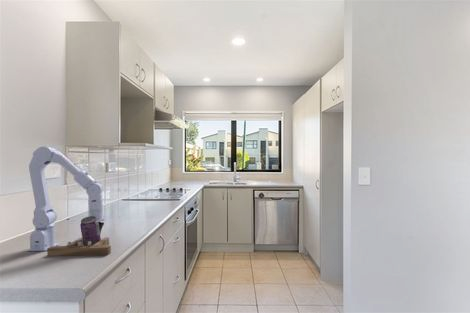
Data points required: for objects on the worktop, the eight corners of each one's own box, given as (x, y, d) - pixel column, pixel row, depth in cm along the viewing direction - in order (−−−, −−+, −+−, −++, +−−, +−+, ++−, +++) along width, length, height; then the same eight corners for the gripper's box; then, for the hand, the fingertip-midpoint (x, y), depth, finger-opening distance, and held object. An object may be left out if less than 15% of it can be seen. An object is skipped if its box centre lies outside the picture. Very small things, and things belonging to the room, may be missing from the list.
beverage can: (96, 238, 134) (93, 214, 130) (104, 243, 129) (100, 219, 126) (80, 244, 128) (76, 219, 125) (87, 250, 124) (83, 225, 121)
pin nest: (107, 255, 117) (107, 242, 117) (47, 256, 116) (47, 243, 116) (121, 244, 131) (121, 232, 131) (67, 244, 131) (67, 233, 131)
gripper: (97, 212, 125) (98, 243, 125) (111, 206, 140) (112, 234, 140) (80, 212, 125) (82, 244, 125) (96, 206, 139) (97, 234, 140)
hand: (96, 239), depth 132 cm, fingers closed, pressing on beverage can
